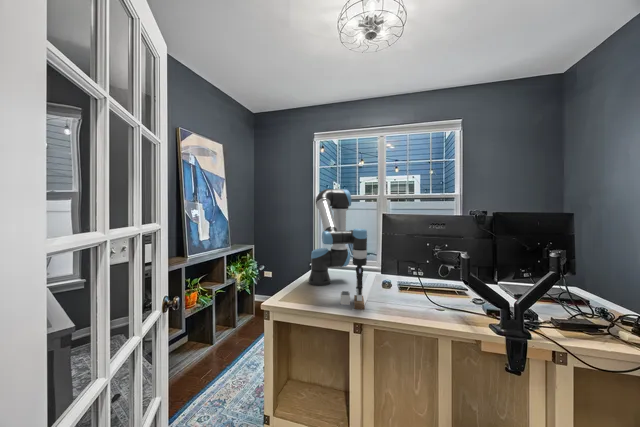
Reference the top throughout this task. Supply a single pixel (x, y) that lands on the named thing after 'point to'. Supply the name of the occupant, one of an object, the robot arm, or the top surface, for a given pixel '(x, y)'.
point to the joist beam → (358, 303)
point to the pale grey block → (345, 298)
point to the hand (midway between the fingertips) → (359, 296)
